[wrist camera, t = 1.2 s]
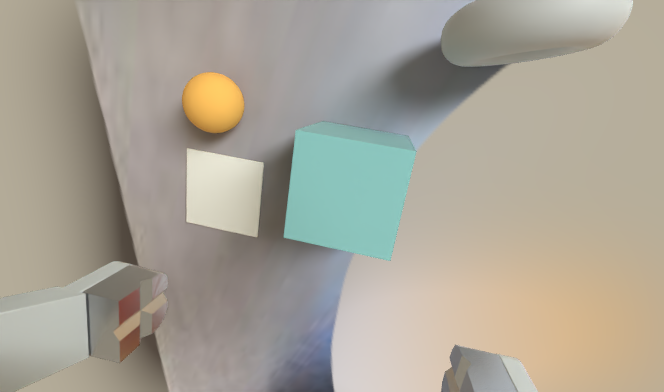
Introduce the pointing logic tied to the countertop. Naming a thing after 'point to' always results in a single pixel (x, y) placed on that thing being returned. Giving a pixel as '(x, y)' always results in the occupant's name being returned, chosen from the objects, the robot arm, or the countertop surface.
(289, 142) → the countertop surface
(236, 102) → the ball
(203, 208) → the square tile
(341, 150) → the teal cube
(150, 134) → the countertop surface
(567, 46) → the donut
